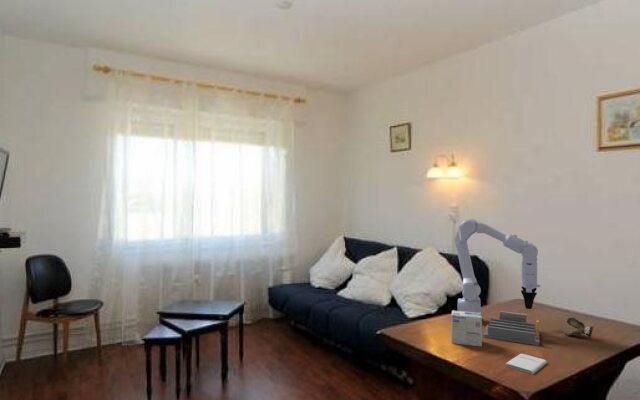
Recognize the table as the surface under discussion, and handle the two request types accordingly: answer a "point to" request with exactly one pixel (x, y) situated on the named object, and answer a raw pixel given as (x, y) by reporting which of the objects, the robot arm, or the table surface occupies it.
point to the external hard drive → (526, 363)
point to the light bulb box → (466, 328)
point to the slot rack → (513, 331)
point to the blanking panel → (513, 316)
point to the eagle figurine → (580, 326)
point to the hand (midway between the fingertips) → (528, 306)
